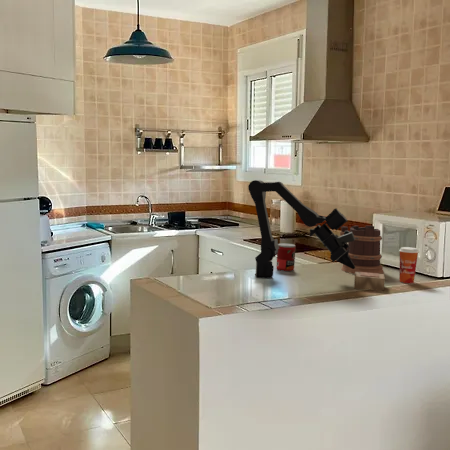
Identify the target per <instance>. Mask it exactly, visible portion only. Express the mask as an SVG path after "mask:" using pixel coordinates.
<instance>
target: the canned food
mask: <svg viewBox="0 0 450 450" xmlns="http://www.w3.org/2000/svg"><path fill="white" fill-rule="evenodd" d="M278 247H279V249H278V253H277V255H276V267H275V268H276V270H277V271H281V270H284V271H283V272H292V270H293V271H294V269H295V263H296V261H295V260H296V245H295V244H294V243H284V242H283V243H278Z"/></svg>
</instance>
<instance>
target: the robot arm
mask: <svg viewBox="0 0 450 450" xmlns="http://www.w3.org/2000/svg"><path fill="white" fill-rule="evenodd" d="M247 189H248V191H249V194H250V196H251V199H252V201H253V202H254V205H255V211H256V215H257V222H258V225H259V231H260V237H261V240H260V253H258V255H256V257H255V273H254V276H255V278H257V279H258V278H260V279H261V278H262V279H273V276H274V265H273V262H272V261H273V259H274V258H275V257H277V253H278V249H279V247H278V244H279V243H278V241H279V240H278V238H275V239H274V237H273V235H272V234H273V233H272V230H271V225H270V224H271V223H270V219H269V214H268V208H267V204H266V196H267V193H268V192H276V193H277V195H278V196H279V197H280V198H282V199H283V200H284V201H285V203H287V204H288V205H289V206H290V207H291V208H292V209H293V210H294V211H295V212H296V214H297V216H298V217H299V218H300V220H301V221H302V223H303V224H304V225H305V226H306V227H308V228H310V229H309V237H310V238H311V237H312V236H314V235H315V236H316V238H317V239H319V241H320V242H321V243H322V245H323V247H324V248H326V249H327V250H328V251H329V253H330V255H329V256H330V258H329V259H330V260H331V261H332V262H333V263H335V262H338V263H340V264H342V265H343V264H344V265H346V266H348V267H350V268H352V269H354V268H355V266H354V264H353V262H352V260H351V258H350V256H349V249H348V250H347V251H346V249H347V248H348V247H349V245H348V242H352V241H354V240H355V237H354V234H353V232H350V230H348V231H345V232H344V235H342V236H339V235H338V234H335V233H334V232H333V231H334V230H336V231H337V230H339V229H340V228H341V227H342V226H343V225H344V224H346V223H348V219H347V218H346V216H345V215H344V214H343V213H342V212H340V210H338V209H337V208H336V207H335V208H334V209H333V210H332V211H331V212H330V213H329V214H328V215H327V216H325V215H324V216H323V215H320V214H319V213H318V212H316V211H315V210H313V209H312V208H311V207H309V206H307V205H305V204H304V203H303V202H302V201H300V199H299V198H297V197H296V195H294V193H292V192H291V191H290V190H289V189H288V188H287V186H285V185H284V183H283V182H282V181H273V182H270V181H269V182H267V181H266V182H264V181H263V180H261V179H255V180H251V182H249V184H248V188H247ZM322 223H323V224H322ZM320 224H322V225H320ZM316 225H317V226H316ZM312 227H314V228H312Z"/></svg>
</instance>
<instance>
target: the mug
mask: <svg viewBox="0 0 450 450" xmlns="http://www.w3.org/2000/svg"><path fill="white" fill-rule="evenodd" d="M340 228H341V230H340V232H339V235H340V236H342V235H344V232H345V231H349V232H353V234H354V237H355V240H354V241H352V242H348V243H347V244H348V245H349V247H348V248H347V249H346V251H347V250H348V249H349V256H350V258H351V260H352V262H353V264H354V266H355V268H354V269H352V268H350V267H348V266H346V265H344V264H342V266H341V270H342V271H343V272H345V273H349V274H353V275H355V272H366V273H378V274H384V273H385V272H384V269H383V268H384V267H383V265H382V264H381V259H382V257H383V255H382V254H381V241H382V240H383V237H382V235H381V230H380V229H378V228H375V226H374V225H365V227H364V226H363V227H362V226H361V227H359V225H352V226H351V227H348V226H343V225H342V226H341V227H340ZM349 229H350V230H349ZM340 236H339V237H340Z"/></svg>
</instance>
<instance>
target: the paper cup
mask: <svg viewBox="0 0 450 450" xmlns="http://www.w3.org/2000/svg"><path fill="white" fill-rule="evenodd" d="M398 251H399V283H402V282H403V284H414V283H415V276H416V269H417V264H418V263H417V262H418V256H419V253H420V251H419V249H418V248H417V247H411V246H410V247H409V246H401V247H400V248H399V250H398Z"/></svg>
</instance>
